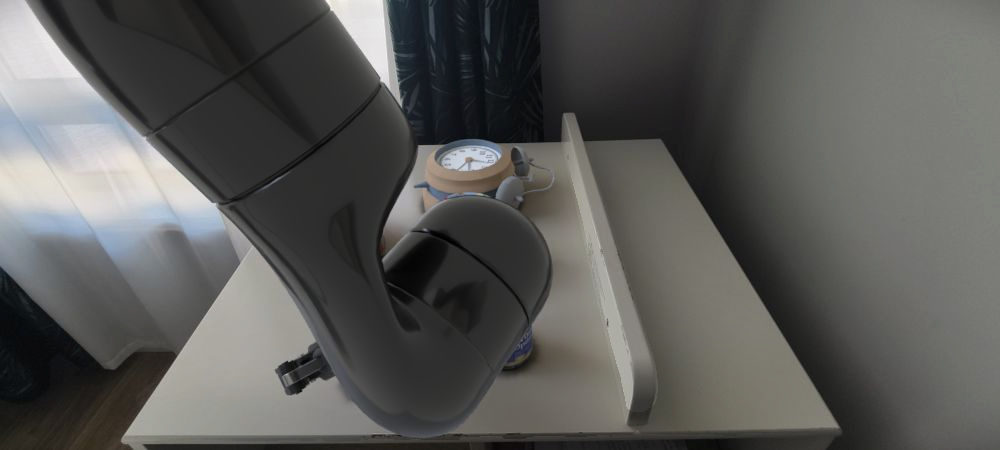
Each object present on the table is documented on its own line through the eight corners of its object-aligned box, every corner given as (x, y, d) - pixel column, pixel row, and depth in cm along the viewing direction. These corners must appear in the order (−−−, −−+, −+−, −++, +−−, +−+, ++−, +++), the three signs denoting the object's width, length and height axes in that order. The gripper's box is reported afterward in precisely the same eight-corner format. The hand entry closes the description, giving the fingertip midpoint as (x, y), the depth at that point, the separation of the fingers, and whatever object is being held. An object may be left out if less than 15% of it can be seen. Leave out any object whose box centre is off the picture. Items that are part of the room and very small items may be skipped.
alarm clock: (432, 130, 89) (559, 135, 86) (438, 174, 95) (558, 181, 91) (401, 177, 76) (550, 185, 72) (410, 225, 81) (549, 235, 77)
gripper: (438, 248, 40) (395, 281, 54) (256, 334, 33) (263, 346, 47) (480, 332, 39) (426, 342, 53) (306, 436, 32) (297, 417, 47)
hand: (349, 344), depth 50 cm, fingers open, 8 cm apart
